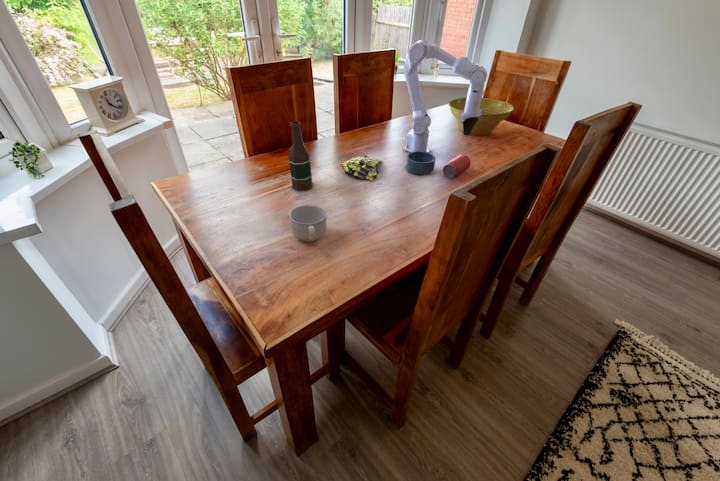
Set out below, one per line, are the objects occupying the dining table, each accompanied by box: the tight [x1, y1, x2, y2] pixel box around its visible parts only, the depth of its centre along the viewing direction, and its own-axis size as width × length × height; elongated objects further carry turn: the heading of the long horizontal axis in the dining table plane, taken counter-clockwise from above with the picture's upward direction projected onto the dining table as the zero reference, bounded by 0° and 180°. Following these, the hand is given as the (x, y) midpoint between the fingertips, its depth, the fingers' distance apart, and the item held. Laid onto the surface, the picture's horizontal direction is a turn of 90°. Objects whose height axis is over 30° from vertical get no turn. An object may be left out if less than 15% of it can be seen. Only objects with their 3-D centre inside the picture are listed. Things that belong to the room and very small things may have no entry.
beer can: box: [442, 154, 472, 179], centre depth 129 cm, size 7×7×12 cm
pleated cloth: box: [341, 153, 382, 182], centre depth 134 cm, size 20×16×7 cm
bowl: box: [405, 151, 437, 175], centre depth 133 cm, size 12×12×6 cm
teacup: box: [288, 204, 328, 242], centre depth 94 cm, size 14×11×8 cm
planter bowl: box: [447, 97, 515, 136], centre depth 168 cm, size 32×32×13 cm
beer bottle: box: [288, 120, 313, 192], centre depth 115 cm, size 8×8×24 cm
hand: (466, 134), depth 138 cm, fingers closed
